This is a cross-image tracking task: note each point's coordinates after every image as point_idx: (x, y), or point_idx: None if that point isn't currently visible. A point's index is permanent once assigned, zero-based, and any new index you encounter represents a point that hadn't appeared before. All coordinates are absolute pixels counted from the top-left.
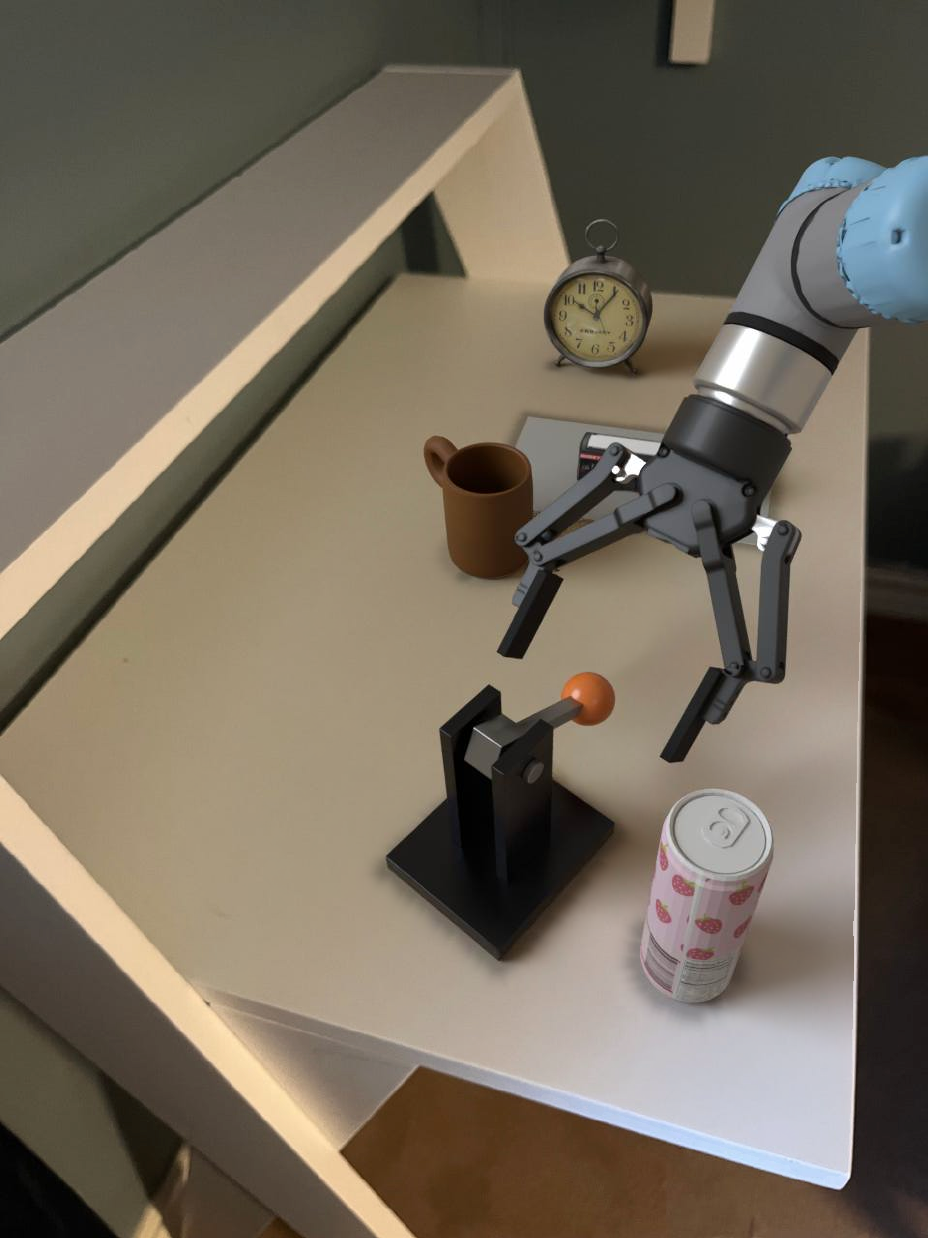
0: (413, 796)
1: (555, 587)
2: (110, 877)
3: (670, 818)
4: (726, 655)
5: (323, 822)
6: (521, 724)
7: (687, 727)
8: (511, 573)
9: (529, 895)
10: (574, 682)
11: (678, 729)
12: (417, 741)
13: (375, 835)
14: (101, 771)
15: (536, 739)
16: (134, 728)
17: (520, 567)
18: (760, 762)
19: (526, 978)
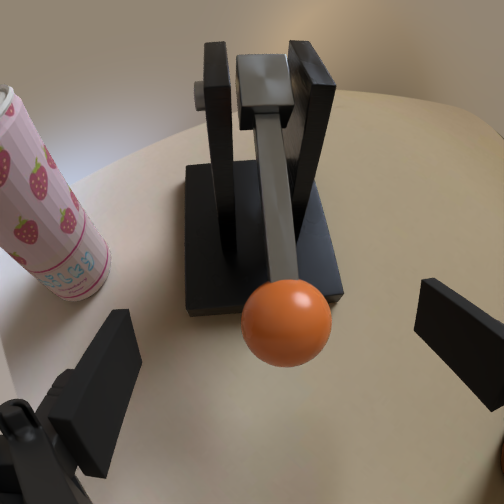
0: (350, 217)
1: (485, 388)
2: (387, 95)
3: (8, 92)
4: (40, 449)
5: (365, 165)
6: (275, 136)
7: (94, 340)
8: (502, 450)
9: (197, 203)
10: (311, 294)
11: (108, 334)
12: (397, 254)
13: (335, 179)
14: (451, 124)
15: (208, 70)
16: (474, 146)
17: (502, 460)
18: (136, 488)
19: (165, 183)
